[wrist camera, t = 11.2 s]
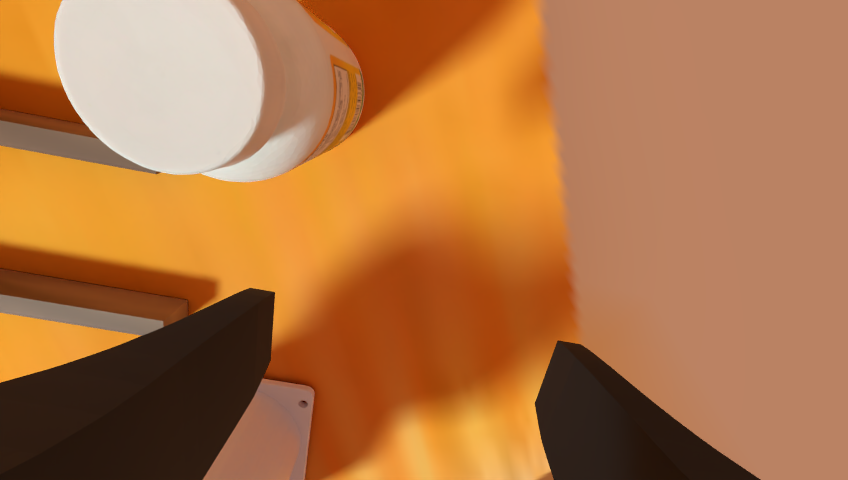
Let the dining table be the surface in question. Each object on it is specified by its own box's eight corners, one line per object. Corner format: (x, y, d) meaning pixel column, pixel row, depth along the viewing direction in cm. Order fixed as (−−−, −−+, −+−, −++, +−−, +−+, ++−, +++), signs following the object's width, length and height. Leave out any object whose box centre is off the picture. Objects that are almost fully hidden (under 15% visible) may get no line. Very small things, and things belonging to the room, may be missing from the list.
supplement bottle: (386, 123, 17) (349, 150, 8) (278, 172, 18) (133, 247, 9) (328, -9, 15) (200, -159, 6) (211, 51, 16) (-54, -11, 7)
